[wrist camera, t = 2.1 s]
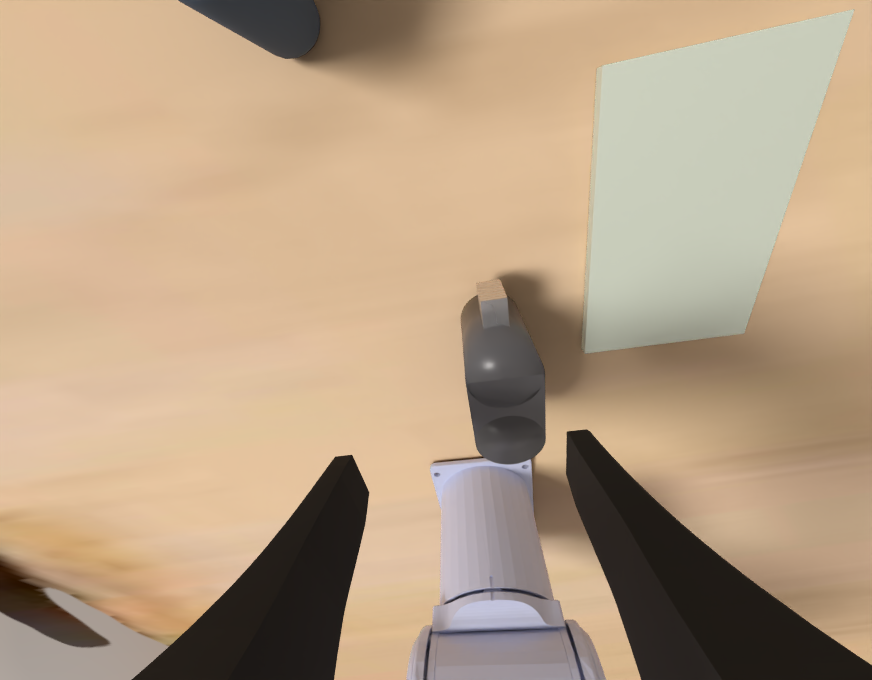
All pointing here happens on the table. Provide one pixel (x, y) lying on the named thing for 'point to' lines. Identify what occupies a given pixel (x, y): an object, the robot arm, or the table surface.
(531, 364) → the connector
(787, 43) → the board
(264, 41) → the vaping device
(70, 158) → the table surface
